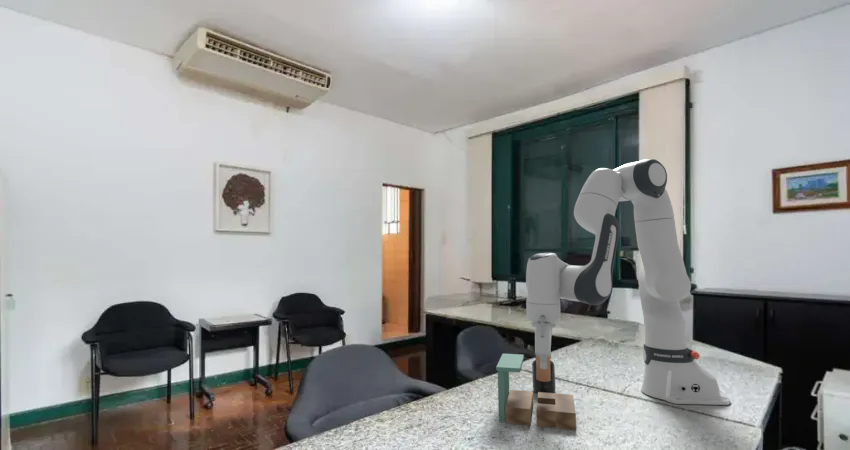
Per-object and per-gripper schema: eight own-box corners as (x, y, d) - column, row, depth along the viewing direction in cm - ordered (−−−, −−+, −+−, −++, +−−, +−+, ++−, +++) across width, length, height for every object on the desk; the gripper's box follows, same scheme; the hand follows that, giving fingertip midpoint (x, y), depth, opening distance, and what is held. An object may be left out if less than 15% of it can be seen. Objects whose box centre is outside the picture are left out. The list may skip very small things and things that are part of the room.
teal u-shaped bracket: (525, 404, 121) (523, 354, 122) (521, 425, 107) (520, 368, 108) (503, 402, 123) (502, 353, 124) (497, 422, 108) (496, 366, 109)
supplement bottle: (556, 389, 135) (554, 350, 135) (555, 395, 128) (553, 355, 129) (533, 387, 137) (532, 349, 138) (531, 393, 131) (530, 353, 131)
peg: (550, 378, 114) (550, 340, 115) (550, 382, 111) (550, 343, 111) (536, 377, 115) (536, 339, 116) (536, 380, 112) (535, 342, 112)
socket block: (573, 409, 117) (572, 394, 117) (576, 430, 104) (575, 413, 104) (510, 404, 122) (510, 389, 122) (505, 422, 108) (505, 406, 109)
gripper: (555, 319, 103) (556, 378, 102) (555, 309, 123) (556, 357, 122) (528, 318, 105) (529, 375, 104) (532, 308, 125) (533, 356, 124)
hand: (543, 365), depth 113 cm, fingers closed on peg, 4 cm apart
